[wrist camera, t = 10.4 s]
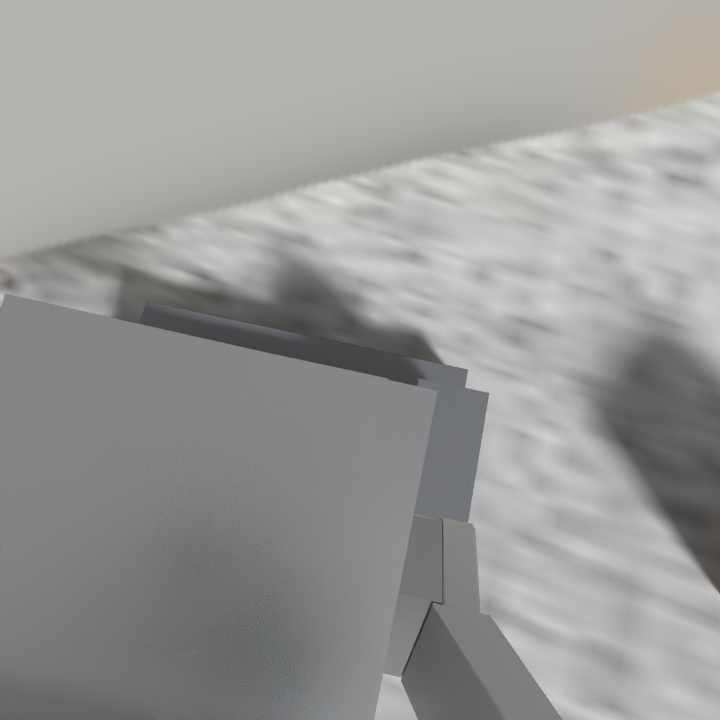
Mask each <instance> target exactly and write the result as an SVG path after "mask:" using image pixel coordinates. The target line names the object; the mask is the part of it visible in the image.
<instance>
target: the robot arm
mask: <svg viewBox="0 0 720 720" xmlns="http://www.w3.org/2000/svg"><path fill="white" fill-rule="evenodd" d="M383 673H385V674H390V675H394V676H398V677H402V679H401V682H402V684H403V686H404V688H405V691H406V693H407V695H408V697H409V700H410V702H411V704H412V707H413V709H414V711H415V713H416V716H417V718H418V720H562V719H561V717H560V716H559V714H558V713H557V711H556V710H555V708H554V707H553V706H552V704H551V703H550V701H549V700H548V698H547V697H546V695H545V694H544V693H543V691H542V690H541V688H540V687H539V685H538V684H537V682H536V681H535V680H534V678H533V677H532V675H531V674H530V672H529V671H528V669H527V668H526V667H525V665H524V664H523V662H522V661H521V659H520V658H519V656H518V655H517V654H516V652H515V651H514V649H513V648H512V646H511V645H510V643H509V642H508V641H507V639H506V638H505V636H504V635H503V633H502V632H501V631H500V629H499V628H498V626H497V625H496V623H495V622H494V620H493V619H492V618H491V616H490V615H486V614H482V613H480V598H479V581H478V565H477V549H476V532H475V528H474V526H473V524H471V523H466V522H461V521H456V520H452V519H447V518H440V517H437V516H432V515H428V514H423V513H418V512H414V515H413V520H412V526H411V531H410V536H409V541H408V546H407V551H406V556H405V562H404V567H403V572H402V577H401V582H400V587H399V593H398V598H397V603H396V608H395V613H394V618H393V624H392V629H391V634H390V639H389V644H388V649H387V654H386V660H385V665H384V670H383Z"/></svg>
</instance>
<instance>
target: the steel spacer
mask: <svg viewBox="0 0 720 720" xmlns="http://www.w3.org/2000/svg"><path fill="white" fill-rule="evenodd" d="M436 397H437V391H436V390H431V389H427V388H422V387H418V386H413V385H409V384H404V383H400V382H396V381H391V380H387V379H382V378H378V377H373V376H369V375H364V374H360V373H355V372H351V371H346V370H342V369H338V368H333V367H329V366H324V365H320V364H315V363H311V362H306V361H302V360H297V359H293V358H289V357H284V356H280V355H275V354H271V353H266V352H262V351H257V350H253V349H248V348H244V347H240V346H235V345H231V344H226V343H222V342H217V341H213V340H208V339H204V338H199V337H195V336H191V335H186V334H182V333H177V332H173V331H168V330H164V329H159V328H155V327H150V326H146V325H142V324H137V323H133V322H128V321H124V320H119V319H115V318H110V317H106V316H101V315H97V314H93V313H88V312H84V311H79V310H75V309H70V308H66V307H61V306H57V305H52V304H48V303H44V302H39V301H35V300H30V299H26V298H21V297H17V296H12V295H8V294H5V297H4V300H3V303H2V306H1V309H0V720H374V716H375V711H376V706H377V701H378V696H379V691H380V685H381V680H382V675H383V670H384V665H385V660H386V654H387V649H388V644H389V639H390V634H391V629H392V624H393V618H394V613H395V608H396V603H397V598H398V593H399V587H400V582H401V577H402V572H403V567H404V562H405V556H406V551H407V546H408V541H409V536H410V531H411V526H412V520H413V515H414V510H415V505H416V500H417V495H418V489H419V484H420V479H421V474H422V469H423V464H424V459H425V453H426V448H427V443H428V438H429V433H430V428H431V422H432V417H433V412H434V407H435V402H436Z"/></svg>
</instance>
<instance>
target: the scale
mask: <svg viewBox="0 0 720 720" xmlns="http://www.w3.org/2000/svg"><path fill="white" fill-rule="evenodd" d="M140 324H142V325H146V326H150V327H155V328H159V329H164V330H168V331H173V332H177V333H182V334H186V335H191V336H195V337H199V338H204V339H208V340H213V341H217V342H222V343H226V344H231V345H235V346H240V347H244V348H248V349H253V350H257V351H262V352H266V353H271V354H275V355H280V356H285V357H289V358H294V359H299V360H304V361H308V362H313V363H318V364H322V365H327V366H332V367H337V368H341V369H346V370H351V371H356V372H360V373H365V374H370V375H374V376H379V377H384V378H388V380H391V381H396V382H400V383H404V384H409V385H413V386H418V387H422V388H427V389H431V390H436V391H437V397H436V402H435V407H434V412H433V417H432V422H431V428H430V433H429V438H428V443H427V448H426V453H425V459H424V464H423V469H422V474H421V479H420V484H419V489H418V495H417V500H416V505H415V510H414V512H418V513H423V514H428V515H432V516H437V517H440V518H447V519H452V520H456V521H461V522H466V523H468V518H469V512H470V506H471V500H472V494H473V488H474V482H475V475H476V469H477V463H478V457H479V451H480V445H481V439H482V433H483V427H484V421H485V415H486V409H487V402H488V396H489V393H486V392H482V391H477V390H472V389H467V388H465V384H466V378H467V372H468V370H467V369H462V368H458V367H453V366H448V365H444V364H439V363H434V362H429V361H425V360H420V359H415V358H411V357H406V356H401V355H396V354H392V353H387V352H382V351H378V350H373V349H368V348H363V347H359V346H354V345H349V344H345V343H340V342H335V341H330V340H326V339H321V338H316V337H312V336H307V335H302V334H297V333H293V332H288V331H283V330H279V329H274V328H269V327H264V326H260V325H255V324H250V323H246V322H241V321H236V320H231V319H227V318H222V317H217V316H213V315H208V314H203V313H198V312H194V311H189V310H184V309H180V308H175V307H170V306H165V305H161V304H156V303H151V302H147V301H146V305H145V308H144V312H143V316H142V319H141V323H140Z"/></svg>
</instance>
